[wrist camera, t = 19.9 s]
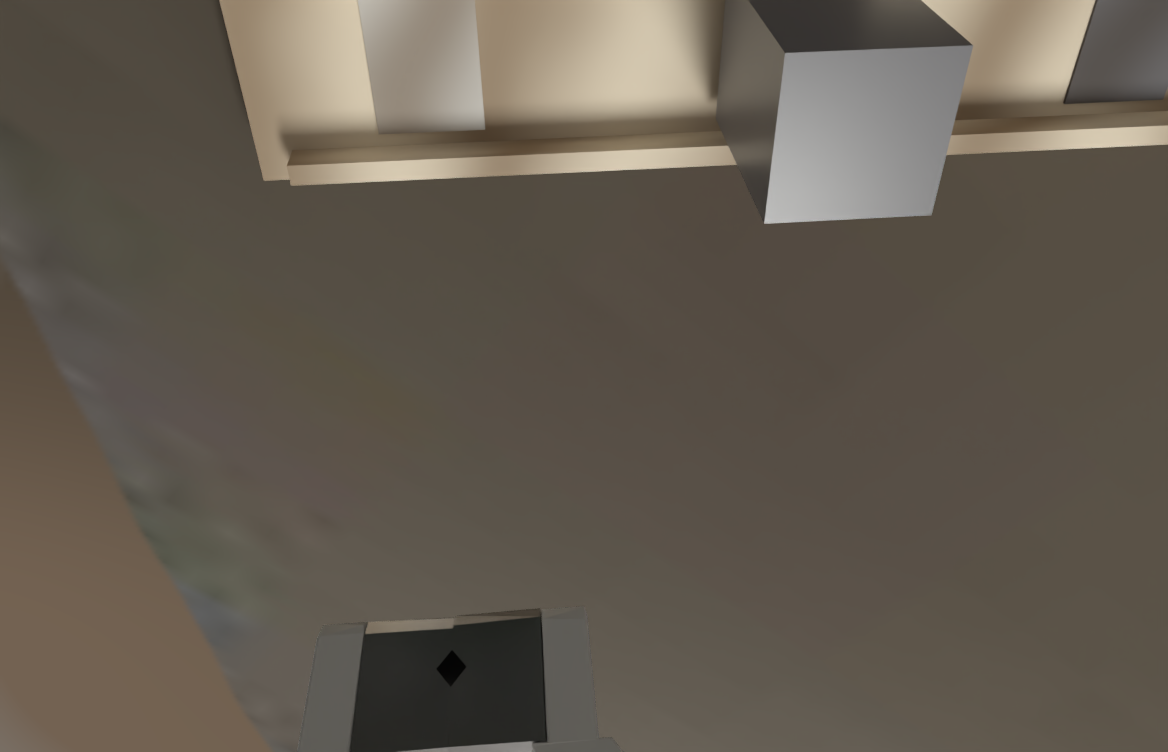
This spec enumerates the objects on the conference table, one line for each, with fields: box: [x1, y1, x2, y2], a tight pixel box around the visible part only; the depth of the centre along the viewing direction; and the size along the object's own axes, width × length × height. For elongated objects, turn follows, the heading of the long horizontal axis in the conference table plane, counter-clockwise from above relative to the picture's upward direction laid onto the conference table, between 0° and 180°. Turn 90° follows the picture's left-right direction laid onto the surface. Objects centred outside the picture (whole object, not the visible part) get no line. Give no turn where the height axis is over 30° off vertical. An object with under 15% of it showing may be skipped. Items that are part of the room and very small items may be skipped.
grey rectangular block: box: [716, 0, 973, 224], centre depth 23 cm, size 4×4×6 cm
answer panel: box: [219, 0, 1168, 186], centre depth 26 cm, size 30×7×3 cm, turn 91°
